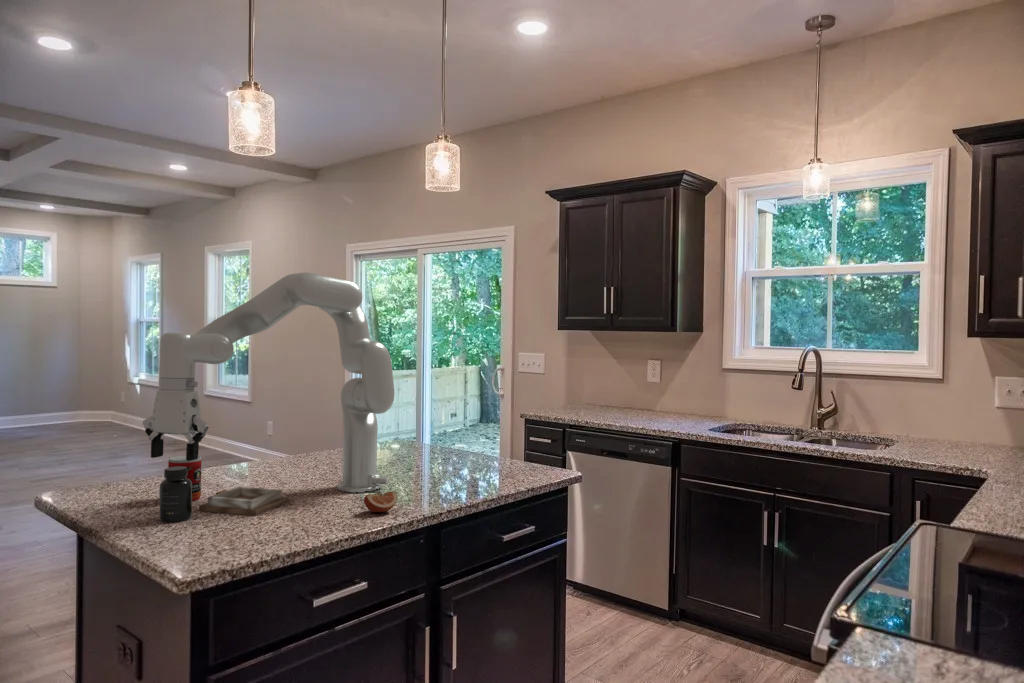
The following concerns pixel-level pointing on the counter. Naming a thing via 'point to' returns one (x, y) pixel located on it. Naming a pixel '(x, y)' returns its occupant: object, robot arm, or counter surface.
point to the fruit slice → (380, 501)
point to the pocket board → (244, 501)
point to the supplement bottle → (175, 495)
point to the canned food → (190, 472)
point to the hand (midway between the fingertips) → (174, 458)
